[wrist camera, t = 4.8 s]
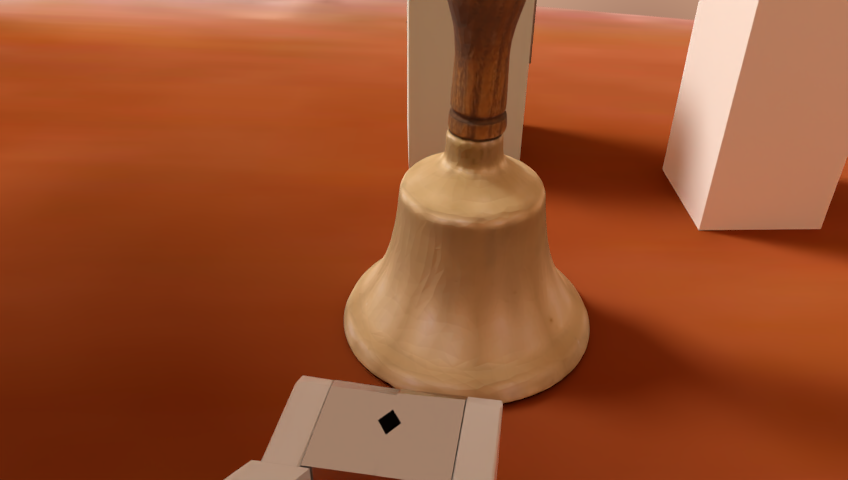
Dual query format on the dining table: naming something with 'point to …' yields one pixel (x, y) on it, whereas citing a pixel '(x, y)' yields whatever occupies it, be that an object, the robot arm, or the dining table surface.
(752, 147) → the cream block marked
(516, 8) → the hand bell
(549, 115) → the dining table surface
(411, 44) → the sage block marked
